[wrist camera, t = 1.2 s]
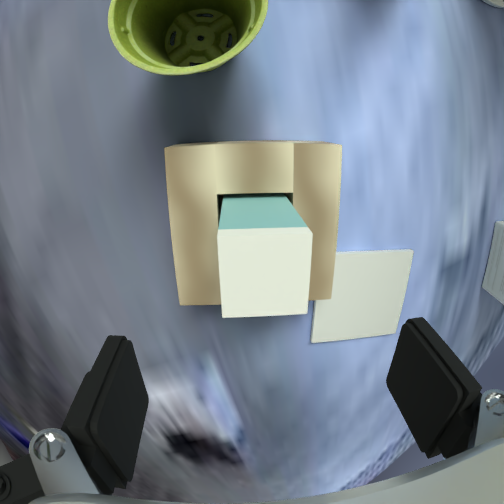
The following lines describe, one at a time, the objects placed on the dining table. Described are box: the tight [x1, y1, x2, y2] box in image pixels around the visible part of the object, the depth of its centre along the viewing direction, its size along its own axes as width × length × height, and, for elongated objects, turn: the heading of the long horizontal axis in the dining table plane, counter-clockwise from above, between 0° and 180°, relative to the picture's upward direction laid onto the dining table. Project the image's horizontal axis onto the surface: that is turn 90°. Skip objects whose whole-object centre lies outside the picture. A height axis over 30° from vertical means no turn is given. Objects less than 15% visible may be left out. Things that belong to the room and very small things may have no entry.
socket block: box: [164, 140, 342, 305], centre depth 24 cm, size 12×12×5 cm
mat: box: [310, 249, 414, 343], centre depth 30 cm, size 10×10×1 cm
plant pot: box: [108, 0, 268, 75], centre depth 17 cm, size 9×9×9 cm
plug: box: [217, 193, 313, 318], centre depth 21 cm, size 4×4×12 cm
